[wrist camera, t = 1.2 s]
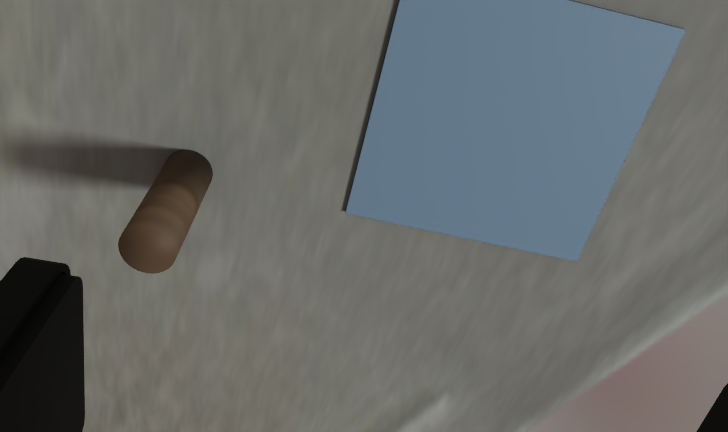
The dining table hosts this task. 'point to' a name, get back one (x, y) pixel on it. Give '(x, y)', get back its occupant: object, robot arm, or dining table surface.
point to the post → (166, 213)
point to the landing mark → (507, 118)
